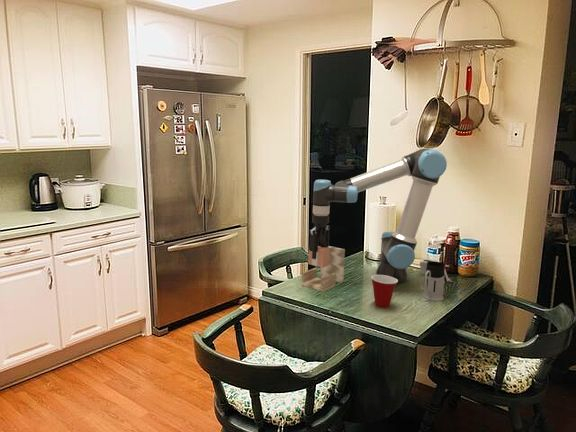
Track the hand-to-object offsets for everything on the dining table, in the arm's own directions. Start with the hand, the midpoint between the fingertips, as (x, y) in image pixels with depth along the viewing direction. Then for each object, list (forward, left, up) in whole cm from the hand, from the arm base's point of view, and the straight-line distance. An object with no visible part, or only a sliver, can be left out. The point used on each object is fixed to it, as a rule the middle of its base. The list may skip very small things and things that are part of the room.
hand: (318, 263), depth 213 cm
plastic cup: (-34, +2, -11) cm, 36 cm away
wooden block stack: (0, -4, -10) cm, 11 cm away
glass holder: (-46, -19, -11) cm, 51 cm away
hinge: (-37, -47, -11) cm, 61 cm away
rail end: (0, 0, 0) cm, 0 cm away
